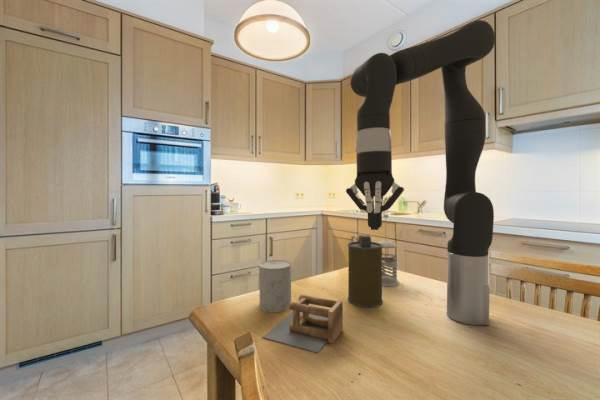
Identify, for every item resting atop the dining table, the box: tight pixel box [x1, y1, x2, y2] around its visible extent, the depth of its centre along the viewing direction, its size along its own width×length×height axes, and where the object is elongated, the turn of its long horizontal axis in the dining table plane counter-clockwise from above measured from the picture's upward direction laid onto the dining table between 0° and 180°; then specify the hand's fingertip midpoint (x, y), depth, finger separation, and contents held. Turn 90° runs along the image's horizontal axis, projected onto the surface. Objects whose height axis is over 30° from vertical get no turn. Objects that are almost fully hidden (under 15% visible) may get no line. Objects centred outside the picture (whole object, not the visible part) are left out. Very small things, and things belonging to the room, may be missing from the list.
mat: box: [262, 311, 328, 354], centre depth 68 cm, size 14×16×1 cm
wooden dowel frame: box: [288, 294, 344, 344], centre depth 67 cm, size 7×7×11 cm
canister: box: [347, 234, 384, 308], centre depth 85 cm, size 11×10×20 cm
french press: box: [376, 213, 400, 287], centre depth 102 cm, size 10×12×25 cm
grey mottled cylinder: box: [258, 259, 292, 313], centre depth 82 cm, size 10×10×12 cm
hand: (374, 229), depth 62 cm, fingers closed
